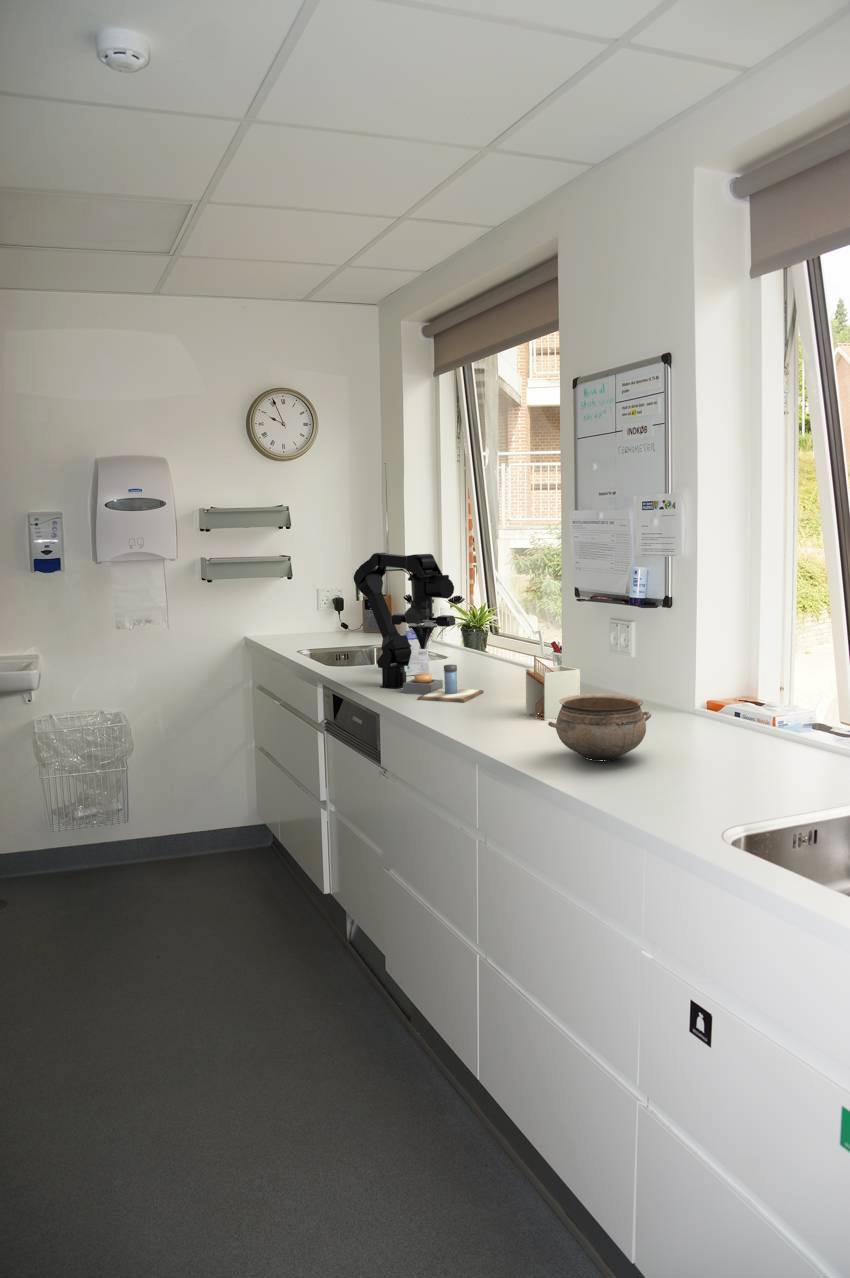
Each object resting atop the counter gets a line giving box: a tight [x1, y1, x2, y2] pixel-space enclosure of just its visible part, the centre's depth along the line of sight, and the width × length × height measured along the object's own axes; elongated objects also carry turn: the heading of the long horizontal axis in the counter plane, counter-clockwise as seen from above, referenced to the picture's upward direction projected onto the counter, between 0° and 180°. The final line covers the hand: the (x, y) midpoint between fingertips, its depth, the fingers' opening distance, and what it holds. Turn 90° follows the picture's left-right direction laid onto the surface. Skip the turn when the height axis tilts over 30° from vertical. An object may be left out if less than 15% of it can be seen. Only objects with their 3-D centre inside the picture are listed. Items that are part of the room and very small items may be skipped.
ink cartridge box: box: [405, 630, 430, 677], centre depth 326 cm, size 10×6×14 cm, turn 115°
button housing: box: [402, 678, 444, 695], centre depth 294 cm, size 9×9×3 cm
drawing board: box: [417, 687, 484, 703], centre depth 285 cm, size 14×16×1 cm
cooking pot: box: [547, 693, 652, 762], centre depth 210 cm, size 25×19×12 cm
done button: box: [414, 673, 432, 683], centre depth 294 cm, size 5×5×2 cm
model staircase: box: [525, 654, 581, 721], centre depth 255 cm, size 9×11×17 cm
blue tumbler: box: [443, 664, 458, 694], centre depth 285 cm, size 4×4×8 cm
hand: (423, 648), depth 292 cm, fingers closed
